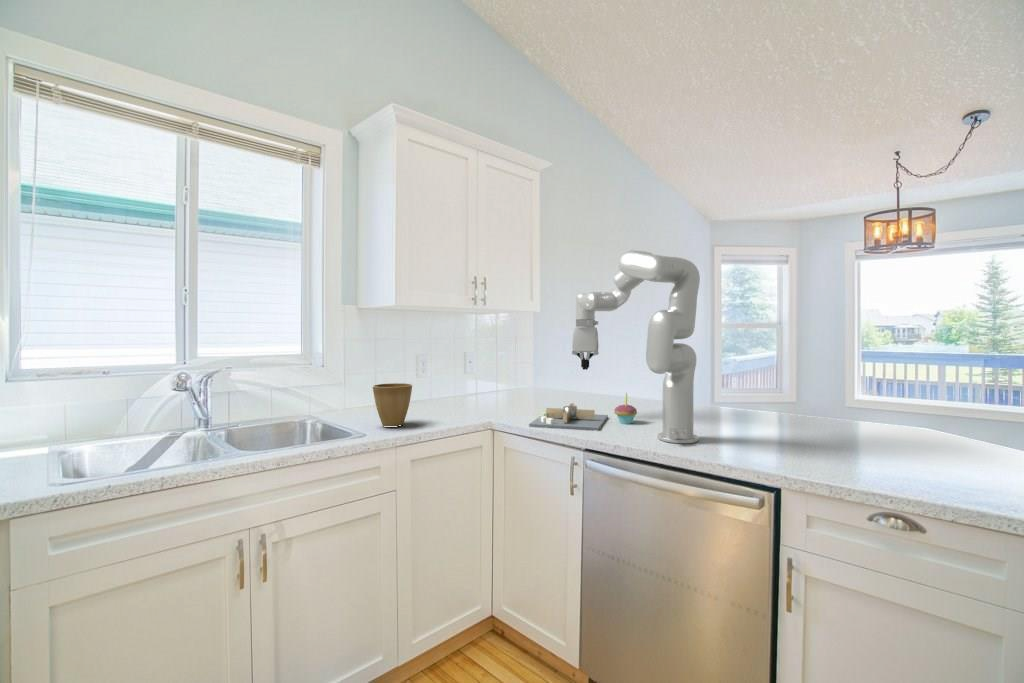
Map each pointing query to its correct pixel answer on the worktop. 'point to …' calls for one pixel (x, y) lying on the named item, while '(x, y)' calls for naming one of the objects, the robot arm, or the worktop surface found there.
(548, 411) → the tan cross shape
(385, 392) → the plant pot
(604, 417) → the stand
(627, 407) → the cupcake
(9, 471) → the worktop surface
